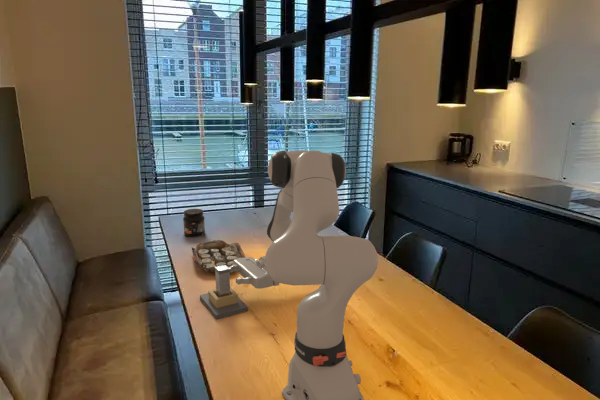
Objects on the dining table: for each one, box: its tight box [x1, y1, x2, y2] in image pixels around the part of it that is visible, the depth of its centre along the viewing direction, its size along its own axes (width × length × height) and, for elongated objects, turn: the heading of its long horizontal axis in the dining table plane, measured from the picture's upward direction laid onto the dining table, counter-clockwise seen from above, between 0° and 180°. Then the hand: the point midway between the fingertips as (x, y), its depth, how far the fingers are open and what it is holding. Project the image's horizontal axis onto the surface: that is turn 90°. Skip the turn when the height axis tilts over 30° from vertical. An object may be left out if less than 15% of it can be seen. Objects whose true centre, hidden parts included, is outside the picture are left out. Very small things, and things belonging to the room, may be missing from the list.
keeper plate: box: [199, 286, 249, 320], centre depth 147 cm, size 16×11×4 cm
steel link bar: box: [214, 265, 231, 298], centre depth 146 cm, size 4×4×12 cm
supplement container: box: [182, 208, 206, 238], centre depth 218 cm, size 10×10×12 cm
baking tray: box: [191, 239, 246, 274], centre depth 183 cm, size 30×22×5 cm
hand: (231, 276), depth 147 cm, fingers open, 8 cm apart
